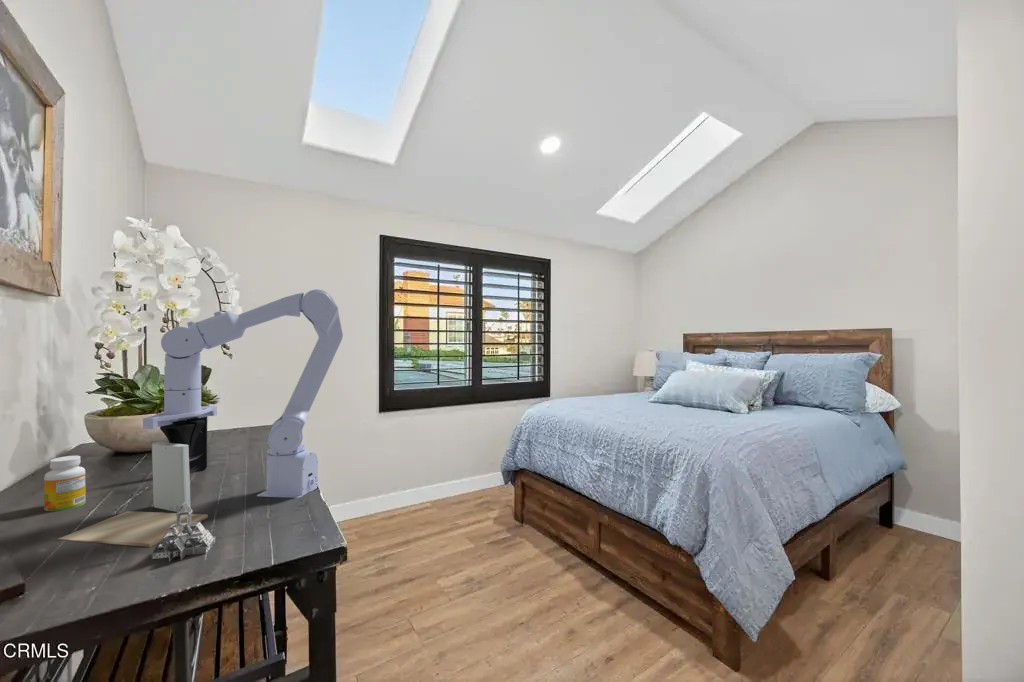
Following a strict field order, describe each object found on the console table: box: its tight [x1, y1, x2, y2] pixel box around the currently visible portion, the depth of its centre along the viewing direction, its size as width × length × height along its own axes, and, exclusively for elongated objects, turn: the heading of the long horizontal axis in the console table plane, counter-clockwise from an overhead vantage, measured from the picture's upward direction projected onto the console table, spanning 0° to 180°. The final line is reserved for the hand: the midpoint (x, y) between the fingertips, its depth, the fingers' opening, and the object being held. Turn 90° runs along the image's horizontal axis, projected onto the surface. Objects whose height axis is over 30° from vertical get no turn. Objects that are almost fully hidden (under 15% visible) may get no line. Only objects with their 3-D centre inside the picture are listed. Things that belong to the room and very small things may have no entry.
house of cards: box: [150, 502, 216, 563], centre depth 62 cm, size 9×9×8 cm
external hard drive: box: [151, 441, 191, 513], centre depth 80 cm, size 2×8×12 cm, turn 72°
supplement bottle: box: [43, 455, 86, 512], centre depth 80 cm, size 5×5×10 cm
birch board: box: [58, 510, 209, 548], centre depth 71 cm, size 16×11×1 cm
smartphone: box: [180, 416, 208, 474], centre depth 101 cm, size 8×1×15 cm, turn 148°
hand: (182, 458), depth 83 cm, fingers closed
